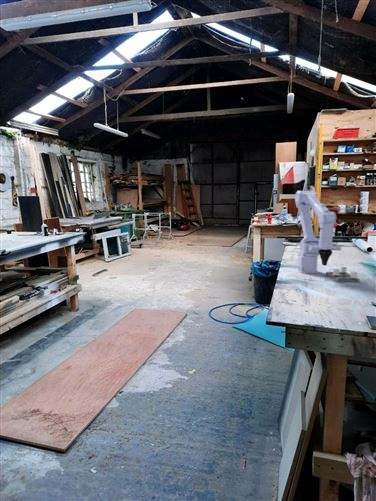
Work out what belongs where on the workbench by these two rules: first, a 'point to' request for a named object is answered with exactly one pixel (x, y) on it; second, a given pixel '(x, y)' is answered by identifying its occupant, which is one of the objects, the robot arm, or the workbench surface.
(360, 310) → the workbench surface
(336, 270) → the breaker mid
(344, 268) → the breaker far
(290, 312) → the workbench surface
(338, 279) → the panel
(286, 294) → the workbench surface
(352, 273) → the breaker near
